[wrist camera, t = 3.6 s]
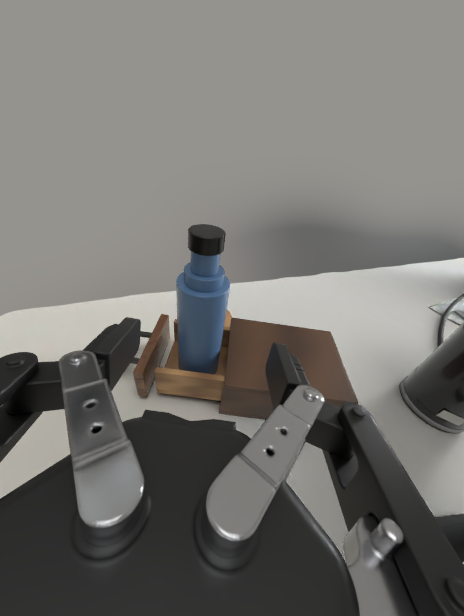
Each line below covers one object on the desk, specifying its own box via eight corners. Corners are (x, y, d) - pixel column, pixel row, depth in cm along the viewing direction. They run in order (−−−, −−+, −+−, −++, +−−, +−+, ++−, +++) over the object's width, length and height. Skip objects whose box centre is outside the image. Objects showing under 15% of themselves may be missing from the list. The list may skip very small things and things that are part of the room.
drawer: (107, 391, 31) (98, 367, 28) (138, 333, 40) (135, 310, 37) (250, 410, 32) (257, 389, 28) (250, 348, 40) (256, 327, 37)
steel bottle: (205, 344, 38) (216, 218, 26) (225, 370, 35) (250, 238, 22) (171, 358, 35) (164, 222, 22) (190, 388, 32) (194, 247, 19)
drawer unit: (218, 413, 31) (224, 385, 27) (226, 346, 41) (231, 317, 37) (335, 428, 32) (358, 403, 28) (315, 358, 42) (330, 331, 37)
